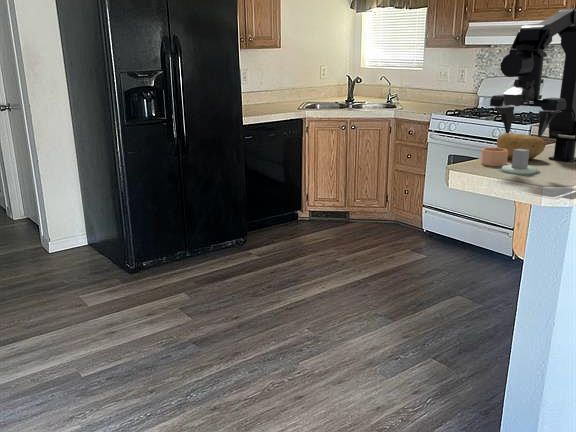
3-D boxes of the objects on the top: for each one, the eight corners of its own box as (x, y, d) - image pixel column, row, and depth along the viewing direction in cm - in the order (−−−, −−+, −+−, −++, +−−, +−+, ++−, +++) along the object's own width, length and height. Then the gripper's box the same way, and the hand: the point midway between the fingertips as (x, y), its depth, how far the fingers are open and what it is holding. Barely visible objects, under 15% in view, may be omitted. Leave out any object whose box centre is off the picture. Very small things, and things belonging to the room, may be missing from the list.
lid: (512, 166, 159) (515, 146, 157) (543, 171, 152) (545, 150, 150) (495, 170, 154) (497, 149, 152) (525, 175, 147) (528, 154, 145)
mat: (511, 166, 160) (511, 165, 160) (548, 172, 152) (548, 171, 152) (489, 171, 154) (489, 170, 154) (527, 178, 146) (527, 177, 146)
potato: (537, 165, 162) (540, 138, 160) (490, 159, 171) (492, 133, 169) (548, 160, 169) (551, 134, 167) (502, 155, 178) (504, 130, 176)
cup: (489, 161, 168) (490, 146, 167) (510, 164, 163) (512, 149, 161) (475, 164, 164) (477, 149, 163) (497, 168, 159) (498, 152, 157)
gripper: (480, 75, 148) (475, 134, 152) (548, 77, 134) (541, 142, 138) (503, 74, 154) (498, 130, 159) (571, 76, 140) (563, 137, 145)
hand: (523, 134), depth 150 cm, fingers open, 9 cm apart
